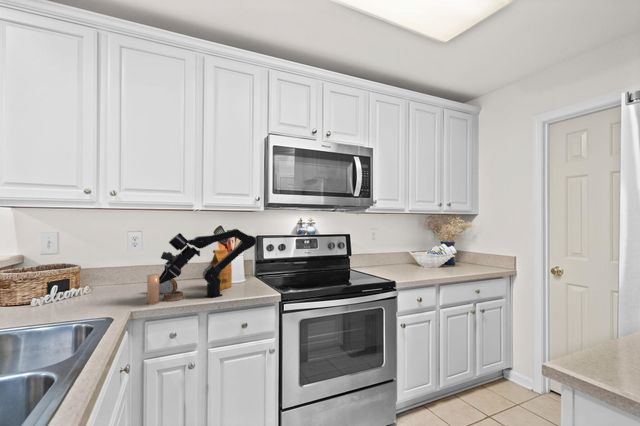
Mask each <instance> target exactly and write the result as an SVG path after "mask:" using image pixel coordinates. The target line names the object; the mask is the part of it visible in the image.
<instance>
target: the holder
mask: <svg viewBox="0 0 640 426" xmlns="http://www.w3.org/2000/svg"><path fill="white" fill-rule="evenodd" d="M183 299H184V291H181V290H176V291H171V292H166V293H164V294H163V299H162V300H163V301H164V302H178V301H181V300H183Z"/></svg>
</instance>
